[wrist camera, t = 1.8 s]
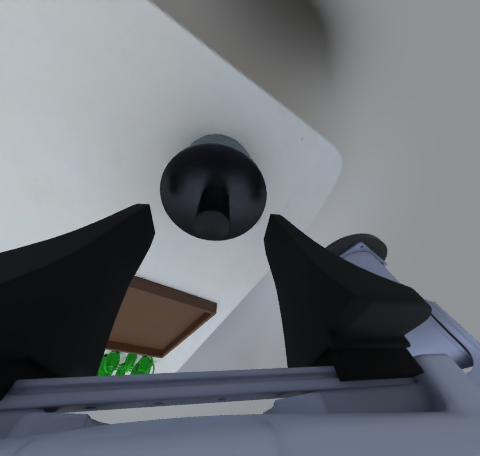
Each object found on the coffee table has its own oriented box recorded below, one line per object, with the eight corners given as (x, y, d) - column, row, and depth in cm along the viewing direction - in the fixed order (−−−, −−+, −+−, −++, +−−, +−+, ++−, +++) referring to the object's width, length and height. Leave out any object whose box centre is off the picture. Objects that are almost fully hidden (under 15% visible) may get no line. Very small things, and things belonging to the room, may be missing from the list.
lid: (282, 166, 13) (304, 190, 9) (241, 242, 17) (246, 279, 13) (174, 119, 11) (147, 125, 7) (158, 219, 15) (135, 256, 11)
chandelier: (165, 352, 46) (157, 386, 40) (148, 369, 52) (139, 401, 47) (103, 343, 40) (83, 381, 35) (92, 363, 47) (74, 398, 41)
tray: (216, 303, 34) (216, 313, 32) (164, 349, 44) (162, 358, 43) (95, 262, 25) (87, 273, 23) (67, 331, 36) (60, 342, 34)
